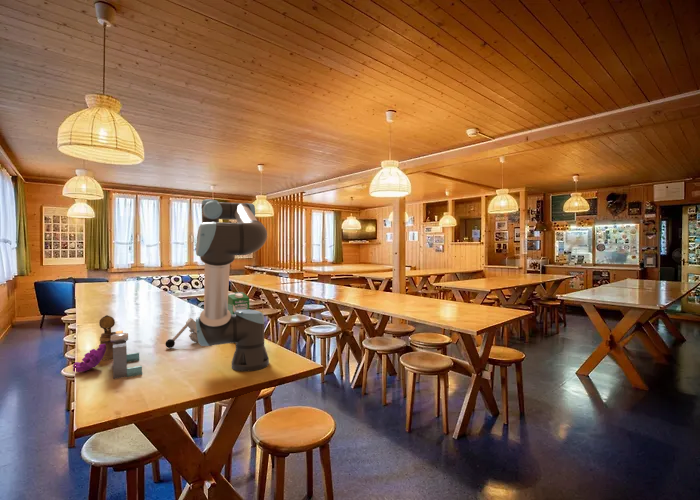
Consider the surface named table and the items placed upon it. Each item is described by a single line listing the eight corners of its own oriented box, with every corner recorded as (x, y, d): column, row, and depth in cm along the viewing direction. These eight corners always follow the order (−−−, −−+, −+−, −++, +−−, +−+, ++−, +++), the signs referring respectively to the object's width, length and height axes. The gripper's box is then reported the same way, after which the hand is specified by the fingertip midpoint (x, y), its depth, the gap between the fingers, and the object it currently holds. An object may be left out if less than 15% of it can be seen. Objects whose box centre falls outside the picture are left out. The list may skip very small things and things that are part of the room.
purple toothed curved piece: (106, 362, 156) (105, 340, 156) (106, 373, 144) (105, 349, 144) (73, 368, 150) (72, 345, 150) (70, 379, 137) (70, 354, 137)
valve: (214, 334, 188) (194, 316, 182) (190, 364, 178) (167, 345, 171) (205, 333, 195) (186, 315, 189) (181, 361, 185) (159, 343, 178)
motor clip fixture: (142, 374, 141) (141, 338, 141) (110, 380, 136) (110, 342, 136) (139, 359, 160) (138, 327, 160) (111, 363, 155) (111, 330, 155)
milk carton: (233, 343, 185) (232, 294, 185) (226, 339, 192) (226, 293, 192) (250, 340, 191) (249, 293, 191) (243, 336, 198) (242, 291, 198)
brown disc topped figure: (118, 351, 173) (117, 313, 173) (122, 357, 163) (122, 318, 163) (95, 354, 168) (95, 316, 167) (98, 362, 157) (98, 321, 157)
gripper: (223, 232, 165) (223, 284, 165) (215, 233, 176) (215, 282, 176) (206, 232, 161) (206, 285, 161) (198, 233, 171) (199, 283, 172)
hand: (211, 283), depth 169 cm, fingers closed
